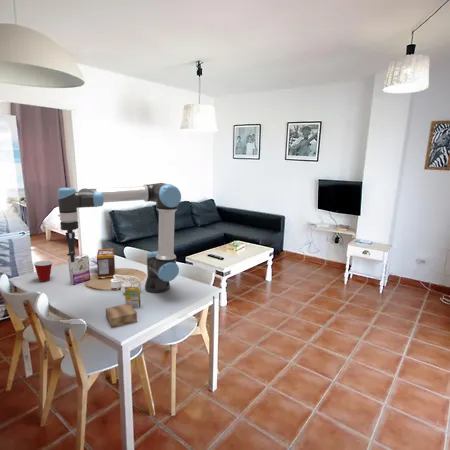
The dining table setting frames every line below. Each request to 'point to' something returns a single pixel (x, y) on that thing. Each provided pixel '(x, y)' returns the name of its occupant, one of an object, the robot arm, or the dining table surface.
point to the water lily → (94, 261)
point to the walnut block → (121, 315)
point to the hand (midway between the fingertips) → (72, 263)
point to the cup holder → (124, 282)
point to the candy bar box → (80, 270)
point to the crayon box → (132, 296)
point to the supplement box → (105, 263)
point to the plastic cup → (43, 270)
